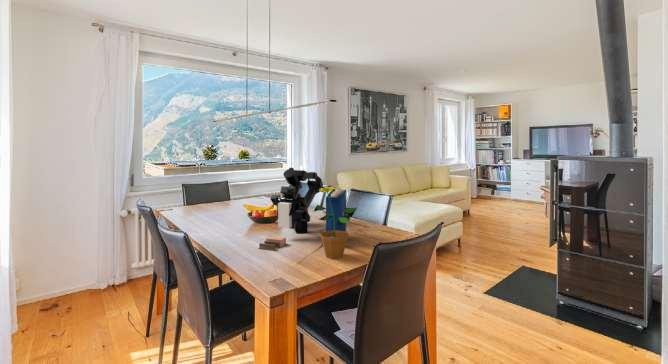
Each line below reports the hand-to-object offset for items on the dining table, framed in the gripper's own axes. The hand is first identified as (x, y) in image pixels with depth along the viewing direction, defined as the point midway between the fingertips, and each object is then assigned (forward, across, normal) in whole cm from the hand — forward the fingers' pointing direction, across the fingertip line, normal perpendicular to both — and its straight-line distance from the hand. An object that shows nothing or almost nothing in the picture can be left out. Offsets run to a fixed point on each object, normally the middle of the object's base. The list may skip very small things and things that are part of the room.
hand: (283, 215), depth 170 cm
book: (+2, +24, +17) cm, 29 cm away
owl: (-13, -12, +32) cm, 37 cm away
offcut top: (+13, 0, +2) cm, 13 cm away
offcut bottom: (+14, 0, +4) cm, 15 cm away
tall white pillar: (+3, 0, +5) cm, 6 cm away
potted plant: (+18, +31, +1) cm, 36 cm away
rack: (+17, 0, +2) cm, 17 cm away
